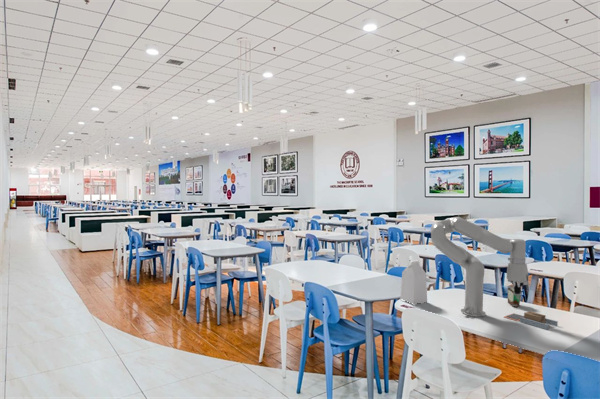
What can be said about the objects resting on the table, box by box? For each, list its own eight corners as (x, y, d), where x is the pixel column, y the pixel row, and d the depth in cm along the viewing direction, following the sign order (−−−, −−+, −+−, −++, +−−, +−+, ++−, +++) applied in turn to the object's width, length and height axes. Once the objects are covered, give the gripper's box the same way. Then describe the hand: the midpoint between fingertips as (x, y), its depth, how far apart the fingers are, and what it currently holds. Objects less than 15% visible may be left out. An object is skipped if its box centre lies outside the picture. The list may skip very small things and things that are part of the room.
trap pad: (518, 321, 211) (518, 320, 211) (503, 317, 218) (503, 316, 218) (527, 317, 217) (527, 316, 217) (513, 313, 224) (513, 312, 224)
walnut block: (539, 326, 204) (539, 317, 204) (524, 321, 211) (524, 312, 211) (545, 324, 207) (545, 315, 207) (530, 320, 214) (530, 311, 214)
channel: (547, 330, 199) (548, 325, 199) (519, 322, 210) (520, 317, 210) (557, 325, 205) (557, 321, 205) (529, 318, 216) (529, 314, 216)
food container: (524, 308, 234) (525, 292, 234) (513, 307, 236) (514, 291, 235) (517, 302, 246) (517, 287, 246) (506, 302, 248) (507, 286, 247)
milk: (413, 304, 239) (414, 263, 238) (400, 300, 249) (401, 260, 248) (427, 302, 245) (428, 261, 244) (413, 297, 255) (414, 258, 254)
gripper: (501, 260, 221) (500, 291, 221) (528, 264, 208) (528, 297, 209) (507, 258, 225) (507, 289, 225) (535, 262, 212) (534, 295, 213)
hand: (517, 293), depth 217 cm, fingers closed
